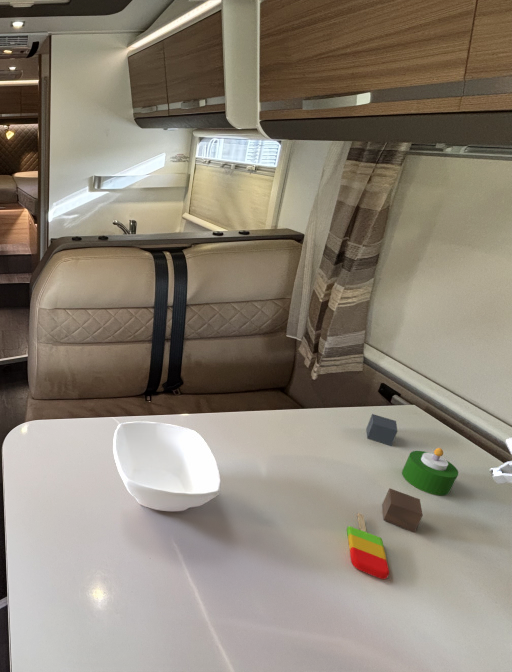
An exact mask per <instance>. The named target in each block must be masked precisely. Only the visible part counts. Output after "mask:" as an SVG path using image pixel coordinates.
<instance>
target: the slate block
mask: <svg viewBox="0 0 512 672" xmlns="http://www.w3.org/2000/svg"><path fill="white" fill-rule="evenodd" d="M397 434H398V426H397V420H394V419H391V418H387V417H384V416H381V415H378V414H375V413H371V415H370V418H369V420H368V424H367V426H366V439H367V440H371V441H374V442H376V443H380V444H382V445H387V446H390V447H392V445H393V443H394V440H395V439H396V437H397Z"/></svg>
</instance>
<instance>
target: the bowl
mask: <svg viewBox="0 0 512 672" xmlns="http://www.w3.org/2000/svg"><path fill="white" fill-rule="evenodd" d="M112 443H113V444H112V452H113V458H114V462H115V465H116V468H117V472H118V474H119V476H120V478H121V480H122V481H123V484H124V487H125V488H126V490H127V491H128V493H129V494H130V496H132V497H133V498H135V500H136V502H137V503H138V504H139V505H141V506H143V507H146V508H149V509H152V510H156V511H162V512H183V511H186V510H187V509H189V508H196V507H201V506H203V505H205V504H206V503H208V502H209V501H211V500H212V499H214V498H216V497H217V496H219V494H220V492H221V487H222V481H221V475H220V469H219V466H218V462H217V460H216V458H215V456H214V454H213V451H212V450H211V448H210V446H209V444H208V443H207V441H206V440H205V439H204V438H203V437H202V436H201V434H200V433H199V432H198V431H196V430H195V429H194V430H193V429H191V428H188V427H185V426H182V425H176V424H170V423H165V422H164V423H163V422H157V421H142V420H141V421H139V420H138V421H126V422H120V423H119V424H118V425H117V427H116V429H115V431H114V434H113V441H112Z"/></svg>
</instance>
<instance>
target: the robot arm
mask: <svg viewBox="0 0 512 672" xmlns="http://www.w3.org/2000/svg"><path fill="white" fill-rule="evenodd" d="M504 443H505V445H506V447H507V449H508V451H509V453H510V455H511V456H512V436H510V437H508V438H506V439H504ZM489 473H490V475H491V477H492V479H493V481H494V482H495V483H496V484H501V485H502V484H507V483H508V484H512V460H509V461H508V460H507V461H506V462H504V463H503V464H501V465H499V466H497V467H491V468H489Z"/></svg>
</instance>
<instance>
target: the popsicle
mask: <svg viewBox="0 0 512 672" xmlns="http://www.w3.org/2000/svg"><path fill="white" fill-rule="evenodd" d="M357 521H358V527H359V529H358V528H356V527H353V526H350V525H348V526H347V528H346V535H347V541H348V548H349V556H350V562H351V564H352V565H353V567H354V568H356V569H357V570H359V571H361V572H362V573H366V574H368V575H371V576H373V577H376V578H378V579H381V580H385V579H387V578H388V577H389V575H390V569H389V564H388V560H387V556H386V551H385V547H384V541H383V538H382V537H380V536H378V535H375V534H373V533H369V532H367V527H366V523H365V517H364V515H363V514H362V513H360V512H358V513H357Z"/></svg>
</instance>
